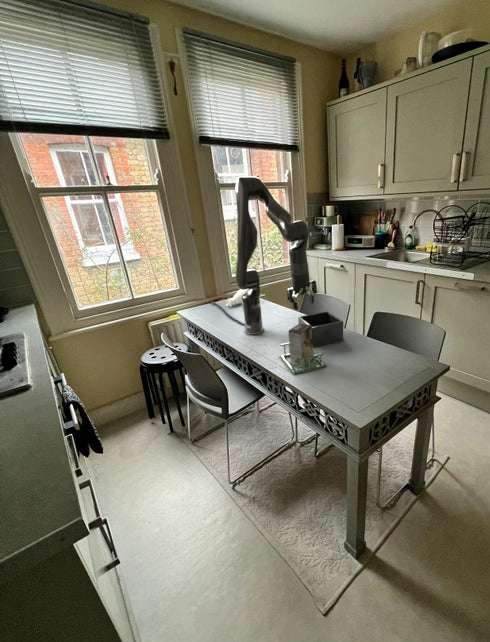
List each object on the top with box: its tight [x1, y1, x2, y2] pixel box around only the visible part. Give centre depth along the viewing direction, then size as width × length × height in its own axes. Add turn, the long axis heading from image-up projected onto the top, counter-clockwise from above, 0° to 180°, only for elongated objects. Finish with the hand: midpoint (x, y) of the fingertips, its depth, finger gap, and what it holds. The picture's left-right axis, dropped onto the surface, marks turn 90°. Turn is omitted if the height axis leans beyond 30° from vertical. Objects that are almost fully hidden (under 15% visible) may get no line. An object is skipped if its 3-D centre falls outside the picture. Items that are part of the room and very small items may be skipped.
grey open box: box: [297, 310, 344, 348], centre depth 157 cm, size 17×17×10 cm
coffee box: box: [288, 322, 314, 368], centre depth 134 cm, size 9×6×16 cm
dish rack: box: [280, 342, 326, 375], centre depth 136 cm, size 17×14×6 cm
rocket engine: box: [225, 289, 248, 308], centre depth 213 cm, size 12×12×18 cm
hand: (303, 306), depth 140 cm, fingers open, 8 cm apart
